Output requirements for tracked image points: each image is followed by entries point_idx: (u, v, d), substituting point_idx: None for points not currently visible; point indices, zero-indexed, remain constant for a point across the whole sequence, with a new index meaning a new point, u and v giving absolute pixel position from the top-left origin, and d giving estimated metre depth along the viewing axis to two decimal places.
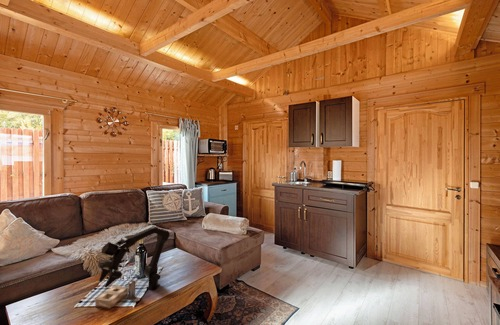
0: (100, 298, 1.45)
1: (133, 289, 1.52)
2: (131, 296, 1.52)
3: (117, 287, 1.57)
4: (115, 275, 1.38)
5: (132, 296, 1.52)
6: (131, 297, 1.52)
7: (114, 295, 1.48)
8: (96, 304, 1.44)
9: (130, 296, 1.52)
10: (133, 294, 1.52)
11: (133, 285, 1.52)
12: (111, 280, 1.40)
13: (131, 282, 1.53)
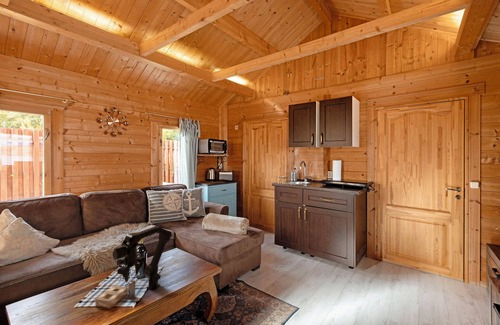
0: (100, 298, 1.45)
1: (133, 289, 1.52)
2: (131, 297, 1.52)
3: (117, 287, 1.57)
4: (119, 273, 1.44)
5: (132, 296, 1.52)
6: (131, 297, 1.52)
7: (114, 295, 1.48)
8: (96, 304, 1.44)
9: (130, 296, 1.52)
10: (133, 294, 1.52)
11: (133, 285, 1.52)
12: (125, 276, 1.47)
13: (131, 282, 1.53)
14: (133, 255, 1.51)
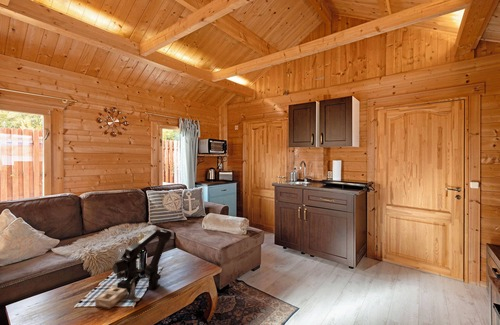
0: (100, 298, 1.45)
1: (133, 289, 1.52)
2: (131, 296, 1.52)
3: None
4: (119, 286, 1.44)
5: (132, 296, 1.52)
6: (131, 297, 1.52)
7: (114, 295, 1.48)
8: (96, 304, 1.44)
9: (130, 296, 1.52)
10: (133, 294, 1.52)
11: (133, 285, 1.52)
12: (128, 287, 1.50)
13: (131, 282, 1.53)
14: (133, 268, 1.51)
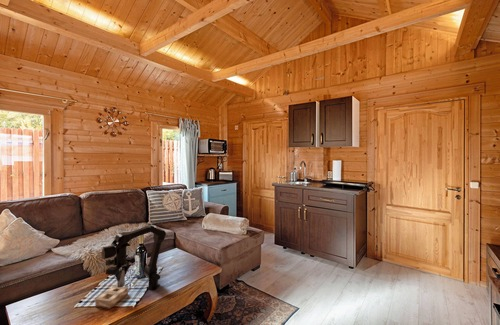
0: (100, 298, 1.45)
1: (122, 277, 1.49)
2: (120, 284, 1.48)
3: (117, 287, 1.57)
4: (108, 273, 1.41)
5: (121, 284, 1.48)
6: (120, 285, 1.48)
7: (114, 295, 1.48)
8: (96, 304, 1.44)
9: (119, 284, 1.48)
10: (122, 282, 1.49)
11: (122, 272, 1.49)
12: (117, 275, 1.46)
13: (120, 269, 1.49)
14: (123, 255, 1.48)
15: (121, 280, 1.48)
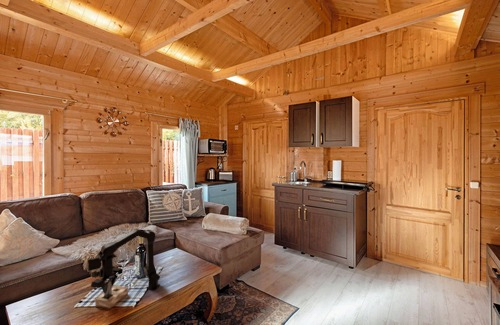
0: (100, 298, 1.45)
1: (109, 288, 1.46)
2: (107, 296, 1.45)
3: (117, 287, 1.57)
4: (93, 286, 1.38)
5: (108, 296, 1.46)
6: (107, 297, 1.45)
7: (114, 295, 1.48)
8: (96, 304, 1.44)
9: (106, 296, 1.45)
10: (109, 294, 1.46)
11: (109, 284, 1.46)
12: (104, 287, 1.43)
13: (107, 281, 1.46)
14: (109, 267, 1.44)
15: (108, 292, 1.45)
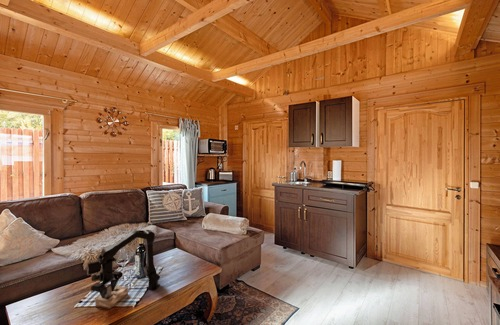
0: (100, 298, 1.45)
1: (109, 293, 1.46)
2: None
3: (117, 287, 1.57)
4: (93, 290, 1.38)
5: None
6: None
7: (114, 295, 1.48)
8: (96, 304, 1.44)
9: None
10: None
11: (109, 289, 1.46)
12: (102, 292, 1.42)
13: (107, 286, 1.47)
14: (109, 271, 1.45)
15: (108, 296, 1.46)
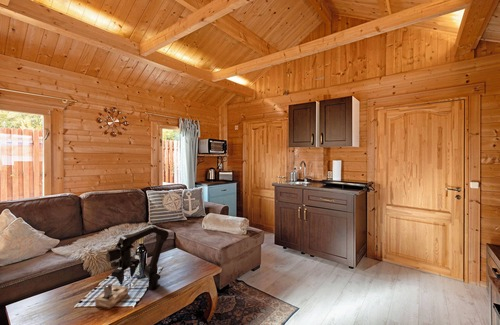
0: (100, 298, 1.45)
1: (109, 293, 1.46)
2: None
3: (117, 287, 1.57)
4: (113, 275, 1.43)
5: None
6: None
7: (114, 295, 1.48)
8: (96, 304, 1.44)
9: None
10: None
11: (109, 289, 1.46)
12: (120, 278, 1.46)
13: (107, 286, 1.47)
14: (127, 257, 1.49)
15: (108, 296, 1.45)
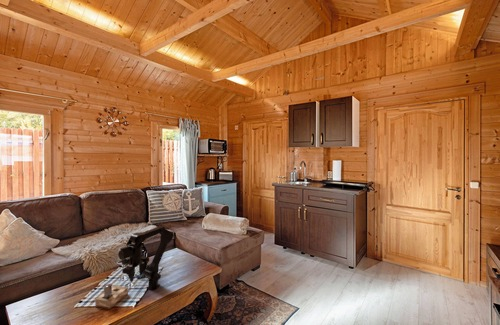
0: (100, 298, 1.45)
1: (109, 293, 1.46)
2: None
3: (117, 287, 1.57)
4: (125, 272, 1.45)
5: None
6: None
7: (114, 295, 1.48)
8: (96, 304, 1.44)
9: None
10: None
11: (109, 289, 1.46)
12: (131, 275, 1.49)
13: (107, 286, 1.46)
14: (138, 255, 1.52)
15: (108, 297, 1.45)
